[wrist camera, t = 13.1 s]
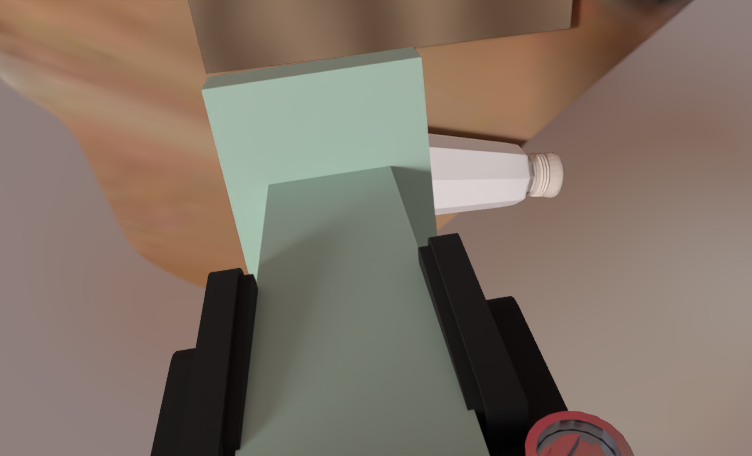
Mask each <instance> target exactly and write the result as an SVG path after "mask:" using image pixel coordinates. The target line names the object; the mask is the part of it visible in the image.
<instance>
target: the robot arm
mask: <svg viewBox="0 0 752 456" xmlns="http://www.w3.org/2000/svg"><path fill="white" fill-rule="evenodd" d="M418 258H419V265H420V268H421V271H422V274H423V277H424V280H425V283H426V286H427V289H428V292H429V295H430V298H431V301H432V304H433V307H434V310H435V313H436V316H437V319H438V322H439V325H440V328H441V331H442V334H443V337H444V340H445V343H446V346H447V349H448V352H449V355H450V358H451V361H452V364H453V367H454V370H455V373H456V376H457V380H458V383H459V386H460V389H461V392H462V395H463V398H464V401H465V404H466V407H467V410H468V411H469V410H474V411H475V414H476V417H477V420H478V423H479V426H480V429H481V431H482V434H483V437H484V440H485V443H486V446H487V449H488V452H489V455H490V456H634V454H633V452H632V450H631V448H630V446H629V444H628V443H627V442H626V440H625V438H624V436H623V435H622V434H621V433H620V432H619V431H618V430H616V429H615V428H614V427H613V426H612V425H611V424H609V423H608V422H606V421H604V420H602V419H600V418H599V417H597V416H594V415H591V414H587V413H583V412H578V411H568V409H567V407H566V405H565V403H564V401H563V399H562V397H561V394H560V393H559V390H558V388H557V386H556V384H555V382H554V380H553V378H552V376H551V373H550V371H549V369H548V367H547V365H546V363H545V361H544V359H543V356H542V354H541V352H540V350H539V348H538V346H537V344H536V342H535V340H534V337H533V335H532V333H531V331H530V329H529V327H528V325H527V323H526V321H525V318H524V316H523V314H522V312H521V310H520V308H519V306H518V304H517V302H516V301H515V299H514V298H513V297H512V296H508V297H502V298H496V299H490V300H486V299H485V297H484V294H483V292H482V289H481V287H480V285H479V282H478V280H477V278H476V275H475V272H474V270H473V268H472V265H471V263H470V260H469V258H468V256H467V253H466V251H465V248H464V246H463V243H462V241H461V239H460V236H459V234H458V233H454V234H448V235H442V236H435V237H429V238H428V246H422V247H418ZM257 296H258V286H257V282H256V279H255V276H254V274H248V275H244V274H243V271H242V269H241V268H236V269H230V270H223V271H217V272H211V273H209V275H208V280H207V286H206V291H205V297H204V303H203V309H202V315H201V320H200V326H199V332H198V338H197V343H196V348H193V349H187V350H181V351H176V352H175V353H174V354H173V356H172V359H171V363H170V367H169V372H168V377H167V381H166V386H165V391H164V395H163V400H162V405H161V409H160V414H159V419H158V424H157V428H156V433H155V437H154V442H153V447H152V451H151V456H235V452H236V450H240V445H241V436H242V427H243V418H244V410H245V401H246V392H247V383H248V375H249V366H250V357H251V348H252V339H253V331H254V322H255V313H256V304H257Z"/></svg>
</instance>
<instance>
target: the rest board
mask: <svg viewBox="0 0 752 456" xmlns="http://www.w3.org/2000/svg"><path fill="white" fill-rule="evenodd" d="M188 3H189V7H190V11H191V15H192V19H193V23H194V27H195V31H196V35H197V39H198V43H199V47H200V51H201V55H202V59H203V63H204V67H205V71H206V74H209V73H217V72H225V71H233V70H241V69H249V68H257V67H265V66H273V65H281V64H289V63H297V62H305V61H313V60H321V59H329V58H337V57H345V56H353V55H361V54H367V53H374V52H381V51H388V50H394V49H401V48H408V47H414V48H417V47H425V46H433V45H441V44H449V43H457V42H465V41H473V40H481V39H489V38H497V37H505V36H513V35H521V34H529V33H537V32H545V31H553V30H561V29H569V28H570V24H571V12H572V0H188Z"/></svg>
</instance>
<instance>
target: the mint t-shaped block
mask: <svg viewBox="0 0 752 456" xmlns="http://www.w3.org/2000/svg"><path fill="white" fill-rule="evenodd" d="M202 94H203V98H204V102H205V106H206V109H207V113H208V117H209V121H210V125H211V129H212V133H213V137H214V141H215V144H216V148H217V152H218V156H219V160H220V164H221V168H222V172H223V176H224V179H225V183H226V187H227V191H228V195H229V199H230V203H231V207H232V210H233V214H234V218H235V222H236V226H237V230H238V234H239V238H240V242H241V245H242V249H243V253H244V257H245V261H246V265H247V269H248V273H249V274H254V276H255V279H256V282H257V286H258V296H257V304H256V313H255V322H254V331H253V339H252V348H251V357H250V366H249V375H248V383H247V392H246V401H245V410H244V418H243V427H242V436H241V445H240V450H236V452H235V456H490V455H489V452H488V449H487V446H486V443H485V440H484V437H483V434H482V431H481V429H480V426H479V423H478V420H477V417H476V414H475V411H474V410H469V411H468V410H467V407H466V404H465V401H464V398H463V395H462V392H461V389H460V386H459V383H458V380H457V376H456V373H455V370H454V367H453V364H452V361H451V358H450V355H449V352H448V349H447V346H446V343H445V340H444V337H443V334H442V331H441V328H440V325H439V322H438V319H437V316H436V313H435V310H434V307H433V304H432V301H431V298H430V295H429V292H428V289H427V286H426V283H425V280H424V277H423V274H422V271H421V268H420V265H419V258H418V247H422V246H428V238H429V237H435V236H437V230H436V219H435V207H434V196H433V185H432V173H431V162H430V150H429V139H428V127H427V116H426V104H425V93H424V82H423V70H422V59H421V56H420V55H419V54H418V52H417V51H416V50H415V49H414V47H408V48H401V49H394V50H388V51H381V52H374V53H367V54H361V55H354V56H347V57H340V58H333V59H327V60H320V61H313V62H306V63H300V64H293V65H286V66H279V67H273V68H266V69H259V70H252V71H246V72H239V73H232V74H225V75H219V76H212V77H208V79H207V81H206V83H205V84H204V86H203V88H202Z"/></svg>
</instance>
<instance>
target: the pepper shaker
mask: <svg viewBox="0 0 752 456" xmlns="http://www.w3.org/2000/svg"><path fill="white" fill-rule="evenodd" d="M428 139H429V150H430V162H431V173H432V185H433V196H434V207H435V215H439V214H448V213H456V212H464V211H471V210H480V209H488V208H495V207H503V206H509V205H514V204H516V203H518V202H520V201H522V200H523V199H525V197H526V196H528V195H530V196H545V197H554V196H556V195H557V194H558V193H559V191H560V189H561V188H562V185H563V179H564V168H563V164H562V161H561V159H560V157H559V156H558V155H557V154H556V153H554V152H548V153H544V154H541V153H532V154H530V155H529V154H526V153H525V152H524V151H523V150H522V149H521V148H520V147H519V145H516V144H510V143H504V142H495V141H487V140H479V139H471V138H462V137H454V136H446V135H438V134H429V133H428Z"/></svg>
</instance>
